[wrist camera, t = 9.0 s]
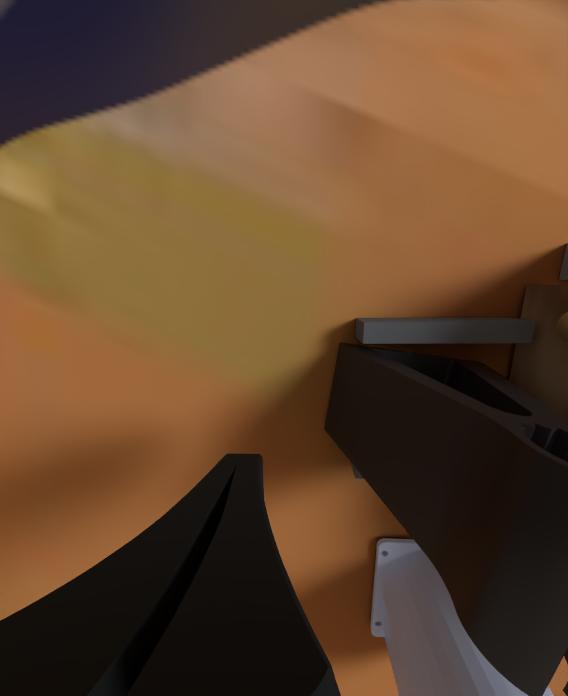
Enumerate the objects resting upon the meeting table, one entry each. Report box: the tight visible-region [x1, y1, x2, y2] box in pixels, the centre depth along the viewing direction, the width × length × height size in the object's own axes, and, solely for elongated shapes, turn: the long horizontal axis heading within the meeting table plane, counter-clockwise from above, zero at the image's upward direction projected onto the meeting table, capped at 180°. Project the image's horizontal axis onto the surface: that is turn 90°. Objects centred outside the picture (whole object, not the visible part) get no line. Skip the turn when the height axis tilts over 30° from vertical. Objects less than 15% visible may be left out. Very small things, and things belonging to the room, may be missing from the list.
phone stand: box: [324, 343, 568, 696], centre depth 12 cm, size 9×6×12 cm, turn 82°
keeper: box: [350, 317, 535, 479], centre depth 16 cm, size 10×9×2 cm
